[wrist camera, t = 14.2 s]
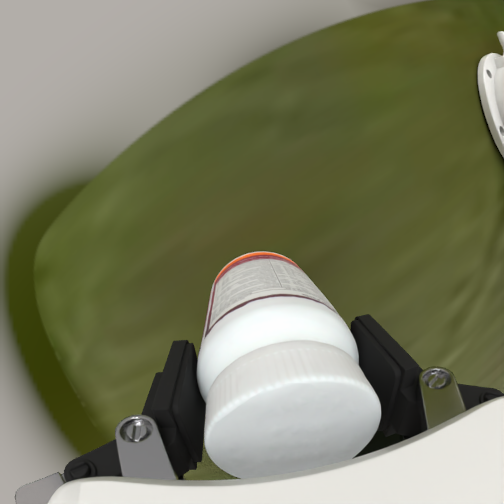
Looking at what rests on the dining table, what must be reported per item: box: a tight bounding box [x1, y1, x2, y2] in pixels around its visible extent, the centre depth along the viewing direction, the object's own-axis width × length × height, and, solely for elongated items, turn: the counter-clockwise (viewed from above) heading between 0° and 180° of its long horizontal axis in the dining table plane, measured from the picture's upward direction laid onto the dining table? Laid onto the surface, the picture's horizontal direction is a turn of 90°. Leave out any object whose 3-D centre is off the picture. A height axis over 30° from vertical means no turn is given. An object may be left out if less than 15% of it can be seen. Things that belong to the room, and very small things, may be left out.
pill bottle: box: [197, 251, 381, 479], centre depth 12 cm, size 6×6×11 cm
